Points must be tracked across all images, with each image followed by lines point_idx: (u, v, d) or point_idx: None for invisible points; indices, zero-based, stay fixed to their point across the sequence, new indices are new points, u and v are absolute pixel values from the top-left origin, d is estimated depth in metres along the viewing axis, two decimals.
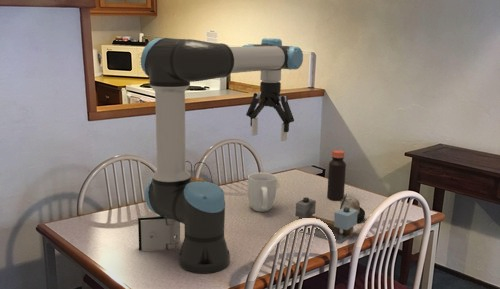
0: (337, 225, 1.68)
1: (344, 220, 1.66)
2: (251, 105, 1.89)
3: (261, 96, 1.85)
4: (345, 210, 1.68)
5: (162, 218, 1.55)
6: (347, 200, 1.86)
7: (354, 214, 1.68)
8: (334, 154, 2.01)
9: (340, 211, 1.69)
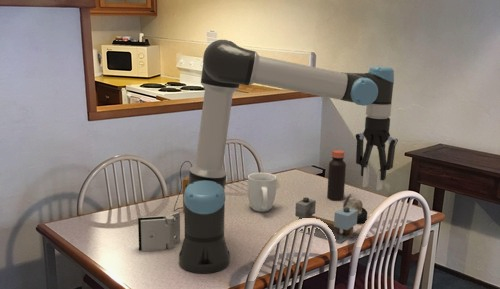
0: (337, 225, 1.68)
1: (344, 220, 1.66)
2: (358, 149, 1.61)
3: (365, 133, 1.58)
4: (345, 210, 1.68)
5: (162, 218, 1.55)
6: (350, 201, 1.86)
7: (354, 214, 1.68)
8: (334, 154, 2.01)
9: (340, 211, 1.69)
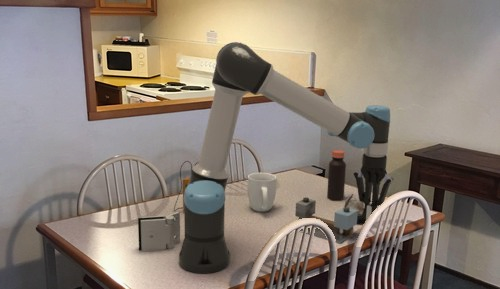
0: (337, 225, 1.68)
1: (344, 220, 1.66)
2: (359, 187, 1.63)
3: (363, 170, 1.61)
4: (345, 210, 1.68)
5: (162, 218, 1.55)
6: (352, 201, 1.86)
7: (354, 214, 1.68)
8: (334, 154, 2.01)
9: (340, 211, 1.69)
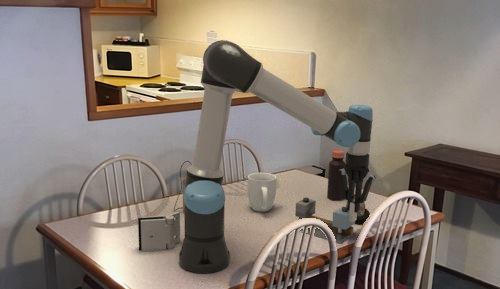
0: (335, 225, 1.68)
1: (342, 219, 1.66)
2: (342, 185, 1.66)
3: (346, 168, 1.65)
4: (343, 210, 1.68)
5: (162, 218, 1.55)
6: None
7: None
8: (334, 154, 2.01)
9: (338, 211, 1.69)
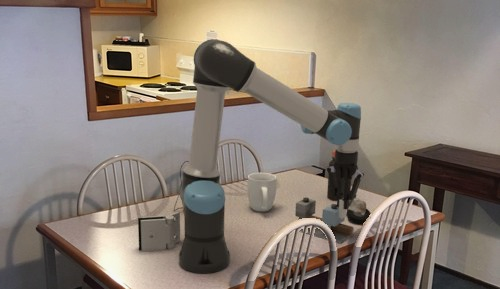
0: (325, 222, 1.70)
1: (331, 216, 1.69)
2: (331, 182, 1.69)
3: (335, 166, 1.67)
4: (333, 207, 1.71)
5: (162, 218, 1.55)
6: (354, 202, 1.85)
7: None
8: (334, 154, 2.01)
9: (328, 208, 1.71)
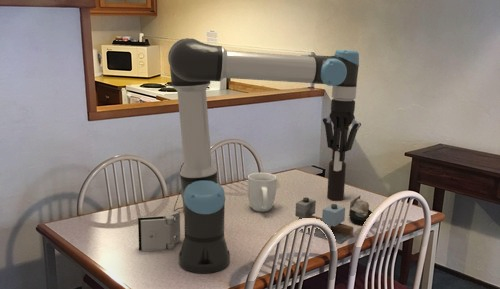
0: (325, 222, 1.70)
1: (331, 216, 1.69)
2: (327, 133, 1.63)
3: (331, 116, 1.61)
4: (333, 207, 1.71)
5: (162, 218, 1.55)
6: (357, 202, 1.84)
7: (342, 211, 1.71)
8: None
9: (328, 208, 1.71)
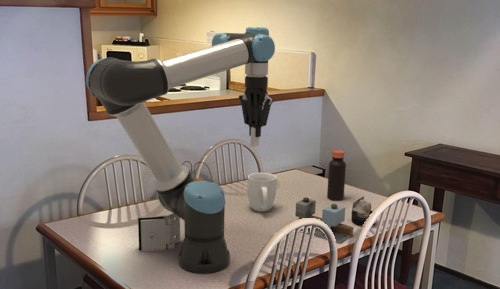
0: (325, 222, 1.70)
1: (331, 216, 1.69)
2: (243, 110, 1.67)
3: (246, 93, 1.65)
4: (333, 207, 1.71)
5: (162, 218, 1.55)
6: (360, 203, 1.84)
7: (342, 211, 1.71)
8: (334, 154, 2.01)
9: (328, 208, 1.71)
